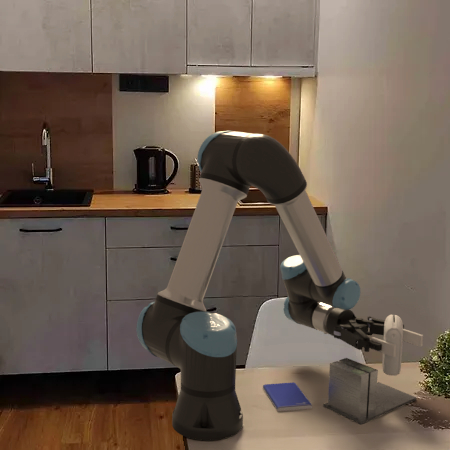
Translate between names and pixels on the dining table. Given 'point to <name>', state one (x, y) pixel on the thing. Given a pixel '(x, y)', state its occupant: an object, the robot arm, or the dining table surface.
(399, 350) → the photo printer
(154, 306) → the robot arm
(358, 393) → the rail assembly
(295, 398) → the hard drive
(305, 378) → the dining table surface
